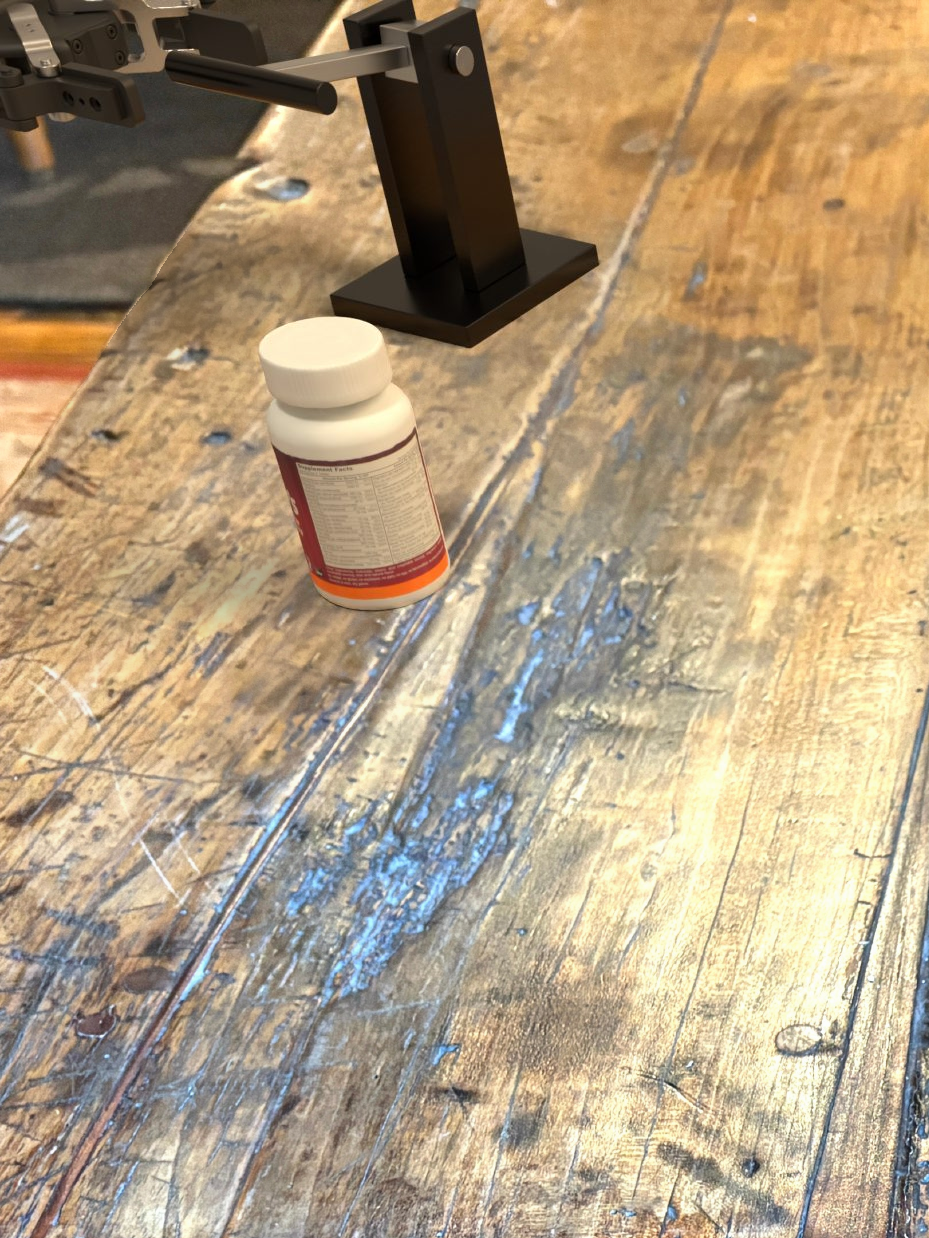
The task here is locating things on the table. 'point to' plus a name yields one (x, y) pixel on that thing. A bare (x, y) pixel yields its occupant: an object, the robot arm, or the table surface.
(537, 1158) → the table surface
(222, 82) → the flush lever
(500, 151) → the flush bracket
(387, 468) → the pill bottle
